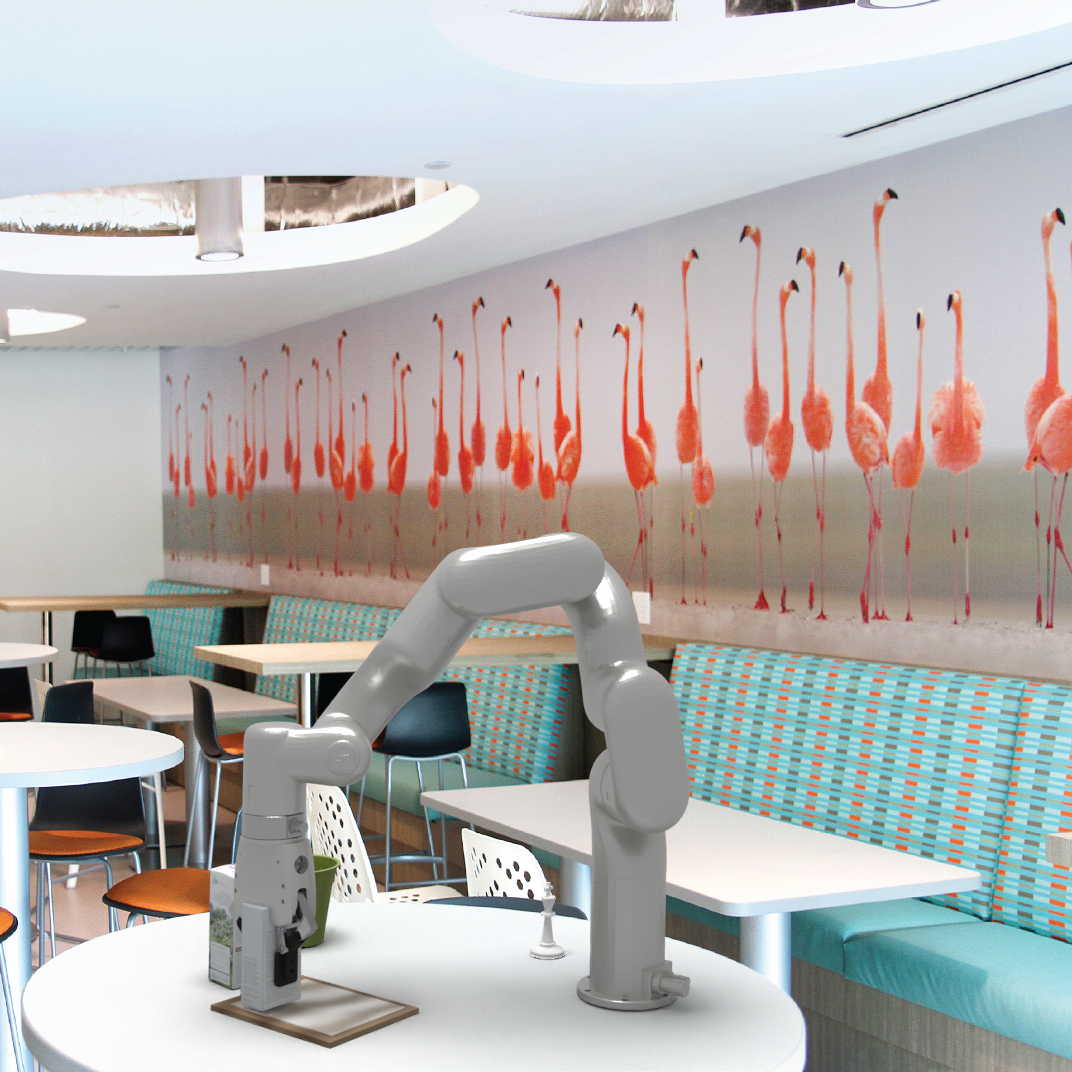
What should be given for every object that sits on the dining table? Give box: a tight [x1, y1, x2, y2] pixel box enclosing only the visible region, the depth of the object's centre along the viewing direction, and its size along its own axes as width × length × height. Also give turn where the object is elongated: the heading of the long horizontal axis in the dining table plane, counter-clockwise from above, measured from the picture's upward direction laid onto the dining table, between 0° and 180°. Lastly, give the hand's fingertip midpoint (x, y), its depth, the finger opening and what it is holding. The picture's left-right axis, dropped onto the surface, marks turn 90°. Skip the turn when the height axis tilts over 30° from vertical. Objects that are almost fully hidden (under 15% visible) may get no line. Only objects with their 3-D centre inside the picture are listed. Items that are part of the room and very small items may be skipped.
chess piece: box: [529, 881, 566, 960], centre depth 182 cm, size 5×5×10 cm
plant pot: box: [302, 853, 341, 948], centre depth 185 cm, size 12×12×11 cm
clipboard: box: [210, 974, 420, 1049], centre depth 156 cm, size 20×15×2 cm
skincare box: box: [240, 903, 302, 1011], centre depth 155 cm, size 6×4×12 cm
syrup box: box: [208, 862, 242, 990], centre depth 167 cm, size 6×6×14 cm
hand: (270, 978), depth 155 cm, fingers closed on skincare box, 4 cm apart
